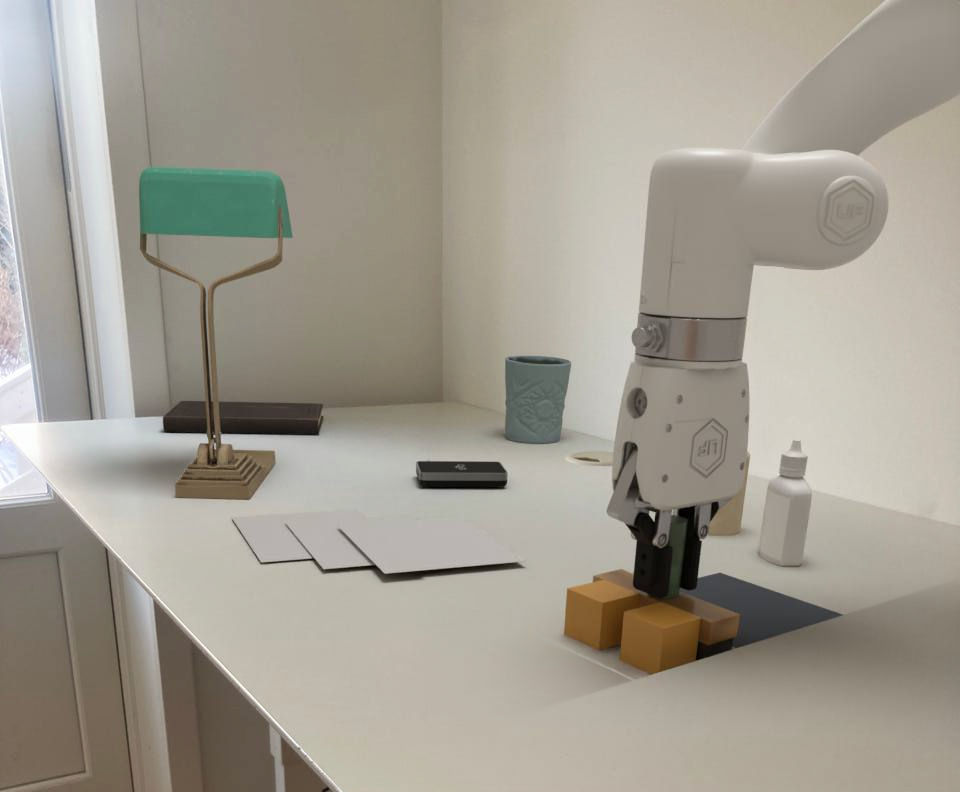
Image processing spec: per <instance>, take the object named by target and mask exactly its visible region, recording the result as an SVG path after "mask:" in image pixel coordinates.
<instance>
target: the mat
mask: <svg viewBox="0 0 960 792" xmlns="http://www.w3.org/2000/svg"><path fill="white" fill-rule="evenodd" d="M680 592H683V593H685V594H688V595H690V596H693V597H696V598H698V599H701V600H704V601H706V602H709V603H711V604H714V605H717V606H719V607H722V608H725V609H727V610H730V611H732V612H735V613H738V614H740V617H739V624H738V631H737V637H733V643H732V648H735V649H739V648H743V647H746V646H748V645H752V644H755V643H759V642H762V641H765V640H768V639H772V638H775V637H778V636H781V635H784V634H787V633H791V632H794V631H798V630H800V629H803V628H807V627H811V626H814V625H816V624H819V623H822V622H827V621H829V620H832V619H836V618H839V617H843V616H844V614H843V613H840V612H837V611H834V610H831V609H828V608H825V607H822V606H819V605H817V604H814V603H810V602H808V601H805V600H802V599H799V598H796V597H793V596H790V595H787V594H784V593H781V592H778V591H776V590H773V589H770V588H767V587H764V586H761V585H758V584H756V583H752V582H749V581H746V580H743V579H740V578H737V577H734V576H731V575H728V574H725V573H722V572H717V573H713V574H708V575H704V576H701V577H700V576H699V577H698V580H697V587H696V589H694V590H690V591H688V590H685V589H683V588H680Z"/></svg>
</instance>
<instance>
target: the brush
mask: <svg viewBox="0 0 960 792" xmlns="http://www.w3.org/2000/svg"><path fill="white" fill-rule="evenodd" d="M687 523H688V520H687V519H686V518H684V517H681V516H677V515H673V514H672V515H671V523H670V530H669V538H668V542H667V544H666V545H668V546H671V547H673V555H672V564H671V574H670V583H669V592H668V595H667V596H666V597H662V598H658V597H655V596H653V595H650V594H648V593H645V592H642V591H640V590H637V589H635V588H634V586H633V576H634V572H630V571H627V570H626V569H625V570H624V569H622V568H620V569H615V570H611V571H607V572H603V573H599V574H593V576H592V583H593V582H597V581H601V580H606V581H608V582H611V583H613V584H616V585H619V586H621V587H624V588H626V589H629V590H631V591H634V592H637V593H639V594H640V596H639V607H638V608H640V607H644V606H648V605H651V604H655V603H659V602H662V603H665V604H667V605H670V606H673V607H675V608H678V609H680V610H683V611H686V612H688V613H691V614H693V615H696V616H699V617H701V622H700V630H699V638H698V647H697V655H696V660H697V661H701V660H703V659H707V658H710V657H713V656H717V655H720V654H723V653H726V652H731V651H733V647H732V643H733V637H737V631H738V624H739V617H740V614H738V613H735V612H732V611H730V610H727V609H725V608H722V607H719V606H717V605H714V604H711V603H709V602H706V601H704V600H701V599H698V598H696V597H693V596H690V595H688V594H685V593H683V592H680V583H681V574H682V566H683V557H684V549H685V540H686V532H687Z"/></svg>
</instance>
